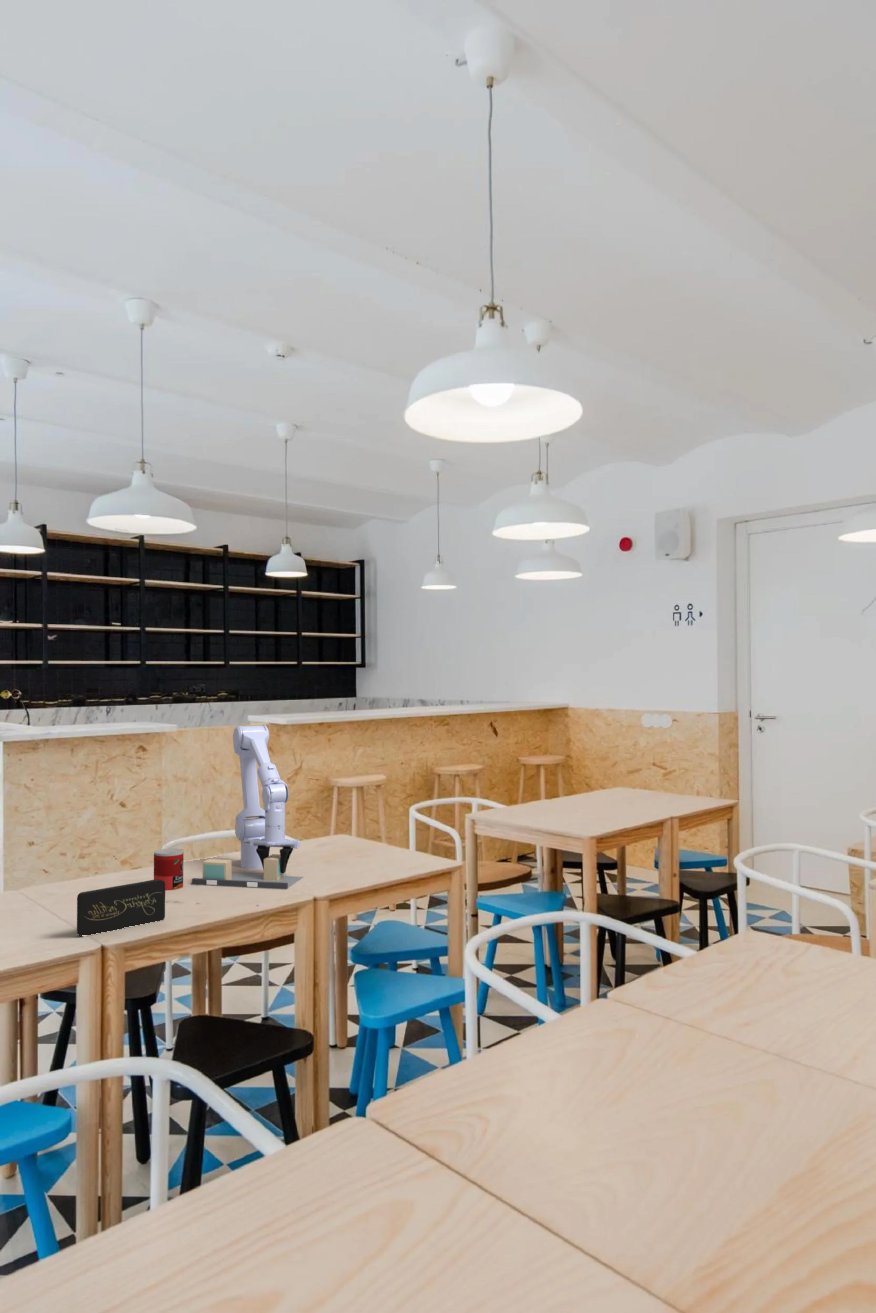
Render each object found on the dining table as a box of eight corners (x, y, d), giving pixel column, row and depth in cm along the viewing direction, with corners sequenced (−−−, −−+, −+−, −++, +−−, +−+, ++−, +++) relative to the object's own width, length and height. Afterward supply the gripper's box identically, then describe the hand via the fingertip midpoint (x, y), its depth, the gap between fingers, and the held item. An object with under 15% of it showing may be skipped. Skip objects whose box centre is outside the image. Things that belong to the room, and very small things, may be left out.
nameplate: (161, 918, 220) (161, 878, 220) (164, 920, 219) (165, 879, 219) (76, 936, 206) (77, 892, 206) (80, 938, 204) (80, 894, 204)
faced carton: (231, 881, 254) (231, 860, 254) (225, 884, 250) (225, 863, 250) (208, 880, 255) (208, 859, 255) (202, 883, 251) (202, 862, 251)
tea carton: (272, 874, 262) (272, 854, 262) (285, 875, 262) (285, 854, 262) (263, 880, 255) (263, 859, 256) (277, 880, 255) (277, 859, 255)
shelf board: (213, 875, 265) (213, 867, 265) (303, 880, 260) (303, 871, 260) (190, 888, 250) (191, 879, 250) (285, 893, 245) (286, 884, 245)
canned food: (178, 894, 243) (178, 853, 243) (149, 893, 243) (149, 853, 244) (186, 887, 251) (187, 848, 251) (158, 886, 251) (159, 847, 251)
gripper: (246, 826, 256) (245, 873, 256) (294, 828, 253) (293, 876, 253) (255, 822, 263) (255, 868, 263) (302, 824, 260) (302, 870, 260)
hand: (274, 872), depth 259 cm, fingers open, 5 cm apart
